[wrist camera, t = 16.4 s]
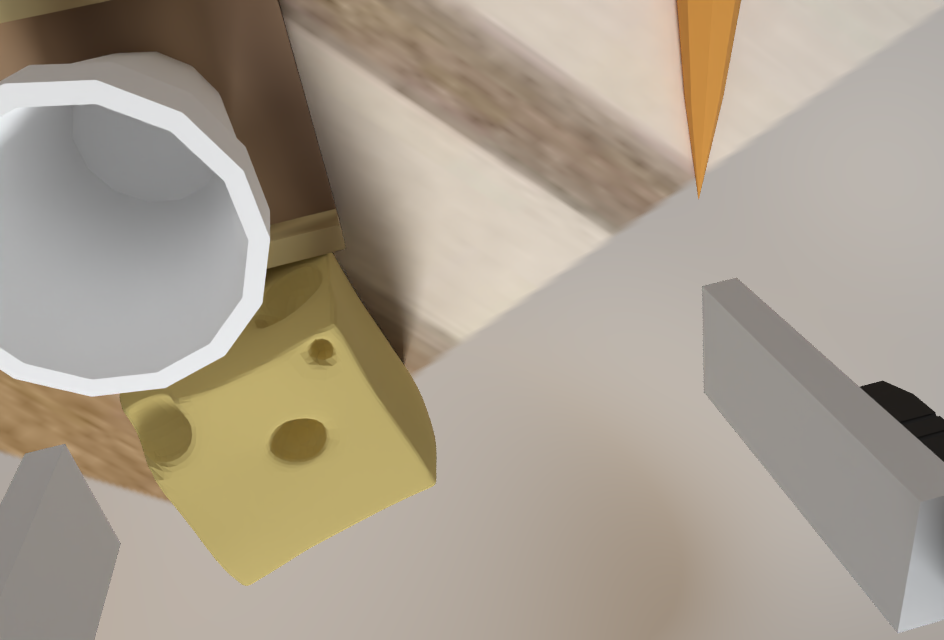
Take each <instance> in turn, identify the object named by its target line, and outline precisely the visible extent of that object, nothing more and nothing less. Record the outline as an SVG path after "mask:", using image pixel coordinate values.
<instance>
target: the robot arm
mask: <svg viewBox="0 0 944 640" xmlns="http://www.w3.org/2000/svg"><path fill="white" fill-rule="evenodd" d="M702 301H703V302H702V305H703V307H702V308H703V366H704V367H703V370H704V393H705V394H706V395H707V396H708V398H709V399H710V400H711V402H712V403H713V404H714V405H715V407H716V408H717V409H718V410H719V412H720V413H721V414H722V415H723V417H724V418H725V419H726V420H727V422H728V423H729V424H730V425H731V426H732V428H733V429H734V430H735V432H736V433H737V434H738V435H739V436H740V438H741V439H742V440H743V441H744V443H745V444H746V445H747V446H748V448H749V449H750V450H751V451H752V453H753V454H754V455H755V456H756V458H757V459H758V460H759V461H760V463H761V464H762V465H763V466H764V468H765V469H766V470H767V471H768V472H769V474H770V475H771V476H772V477H773V479H774V480H775V481H776V483H777V484H778V485H779V486H780V487H781V489H782V490H783V491H784V493H785V494H786V495H787V496H788V498H789V499H790V500H791V501H792V502H793V504H794V505H795V506H796V507H797V509H798V510H799V511H800V512H801V514H802V515H803V516H804V517H805V519H806V520H807V521H808V522H809V524H810V525H811V526H812V527H813V529H814V530H815V531H816V532H817V534H818V535H819V536H820V537H821V539H822V540H823V541H824V542H825V544H826V545H827V546H828V547H829V549H830V550H831V551H832V552H833V554H834V555H835V556H836V557H837V558H838V560H839V561H840V562H841V564H842V565H843V566H844V567H845V568H846V570H847V571H848V572H849V573H850V575H851V576H852V577H853V578H854V580H855V581H856V582H857V583H858V585H859V586H860V587H861V588H862V590H863V591H864V592H865V593H866V595H867V596H868V597H869V598H870V600H871V601H872V602H873V603H874V605H875V606H876V607H877V608H878V609H879V611H880V612H881V613H882V615H883V616H884V617H885V618H886V620H887V621H888V622H889V623H890V625H891V626H892V627H893V628H894V630H895V631H896V632H897V633H900V632H904V631H907V630H910V629H914V628H917V627H921V626H924V625H928V624H931V623H934V622H938V621H941V620H944V419H943V418H942V417H940V416H938V417H937V416H936V414H935V412H934V411H933V410H932V409H930V408H929V407H928V406H927V405H926V404H925V403H923V402H922V401H921V400H920V399H919V398H917V397H916V396H915V395H914V394H912V393H910V392H907V391H905V390H903V389H901V388H898V387H896V386H894V385H891V384H889V383H887V382H884V381H880V382H876V383H872V384H868V385H865V386H861V387H859V386H858V385H857V384H856V383H854V382H853V381H852V380H851V379H850V378H849V377H847V375H845V374H844V373H843V372H842V371H841V370H840V369H839V368H837V367H836V366H835V365H834V364H833V363H832V362H831V361H830V360H828V359H827V358H826V357H825V356H824V355H823V354H822V353H821V352H820V351H818V350H817V349H816V348H815V347H814V346H813V345H812V344H811V343H809V342H808V341H807V340H806V339H805V338H804V337H803V336H802V335H800V334H799V333H798V332H797V331H796V330H795V329H794V328H793V327H791V326H790V325H789V324H788V323H787V322H786V321H785V320H784V319H783V318H781V317H780V316H779V315H778V314H777V313H776V312H775V311H773V310H772V309H771V308H770V307H769V306H768V305H767V304H766V303H764V302H763V301H762V300H761V299H760V298H759V297H758V296H757V295H755V294H754V293H753V292H752V291H751V290H750V289H749V288H748V287H747V286H745V285H744V284H743V283H742V282H741V281H740V280H738V278H734V279H730V280H726V281H722V282H717V283H713V284H709V285H706V286H702ZM120 544H121V543H120V541H119V539H118V538H117V536H116V534H115V532H114V531H113V529H112V527H111V525H110V523H109V522H108V520H107V518H106V517H105V514H104V513H103V511H102V509H101V507H100V505H99V504H98V502H97V500H96V498H95V497H94V495H93V493H92V491H91V489H90V488H89V486H88V484H87V482H86V480H85V479H84V477H83V475H82V473H81V472H80V470H79V468H78V466H77V464H76V463H75V461H74V459H73V457H72V455H71V454H70V452H69V450H68V448H67V447H66V445H65V444H62V445H58V446H54V447H50V448H46V449H42V450H38V451H34V452H30V453H26V454H25V455H24V457H23V459H22V461H21V463H20V465H19V467H18V469H17V471H16V473H15V475H14V477H13V480H12V482H11V484H10V486H9V488H8V490H7V492H6V494H5V496H4V498H3V500H2V502H1V504H0V640H94V639H95V635H96V632H97V628H98V625H99V621H100V617H101V613H102V610H103V606H104V603H105V599H106V595H107V592H108V588H109V584H110V581H111V577H112V573H113V570H114V566H115V562H116V559H117V555H118V551H119V548H120Z"/></svg>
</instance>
